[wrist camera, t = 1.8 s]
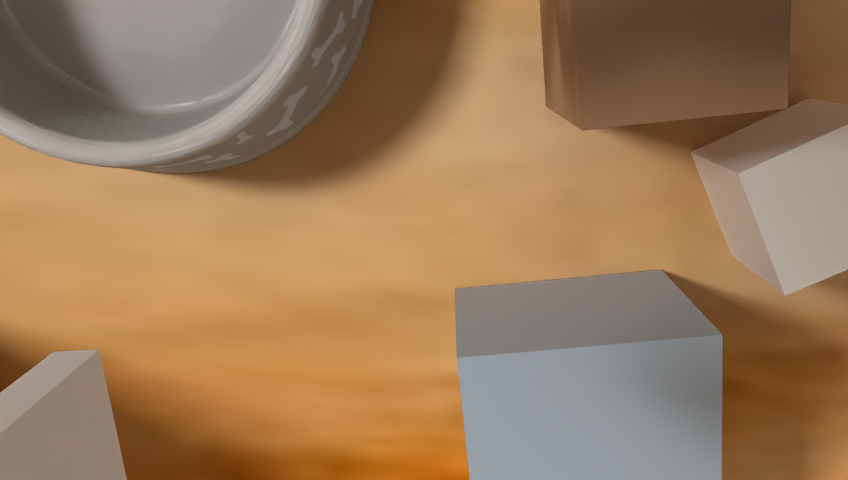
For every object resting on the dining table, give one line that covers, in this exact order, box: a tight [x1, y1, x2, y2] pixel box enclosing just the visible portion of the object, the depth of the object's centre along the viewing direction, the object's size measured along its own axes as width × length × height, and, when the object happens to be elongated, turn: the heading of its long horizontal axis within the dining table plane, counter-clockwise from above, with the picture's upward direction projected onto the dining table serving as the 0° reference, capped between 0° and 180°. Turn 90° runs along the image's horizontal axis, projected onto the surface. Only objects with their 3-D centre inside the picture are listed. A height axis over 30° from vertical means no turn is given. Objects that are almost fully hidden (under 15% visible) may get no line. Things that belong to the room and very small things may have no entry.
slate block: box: [455, 270, 723, 480], centre depth 28 cm, size 9×9×7 cm
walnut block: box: [540, 0, 791, 130], centre depth 24 cm, size 6×6×8 cm
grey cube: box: [691, 98, 848, 296], centre depth 27 cm, size 5×5×5 cm
